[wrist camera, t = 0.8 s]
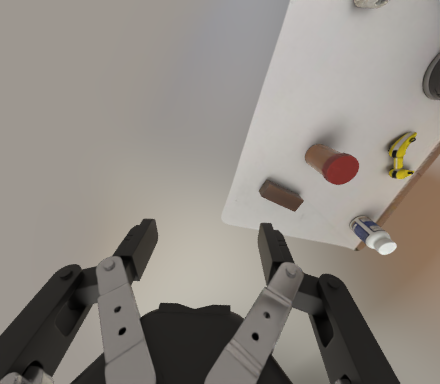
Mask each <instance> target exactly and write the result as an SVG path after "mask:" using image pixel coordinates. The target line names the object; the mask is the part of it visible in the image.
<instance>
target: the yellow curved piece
mask: <svg viewBox="0 0 440 384" xmlns="http://www.w3.org/2000/svg"><path fill="white" fill-rule="evenodd" d="M416 135H417V133H416V132H409V133H407V134H405V135H404V136H402V137H401V138H400V139H399V140H397V141H396V142H395V143H394V144H392V145H391V146H390V148H389V150H388V151H389V155H390V156H391V157H393V158H394V159H393V166H394V169H392V170H390V172H389V175H390V176H391V177H392V178H397V179H404V178H405V177H407V176H409V175H411V174H413V173H414V171H411V170H405V169H400V168H402V167H403V156H404V155H405V152H406V149H407V147H408V146H409V144H410V143H411V142H414V141H415V140H416V139H415V137H416ZM413 139H414V140H413Z"/></svg>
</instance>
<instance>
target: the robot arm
mask: <svg viewBox="0 0 440 384" xmlns="http://www.w3.org/2000/svg"><path fill="white" fill-rule="evenodd" d="M423 90H424V93H425V94H426V96H427V97H429V98H430V99H434V100H440V54H439V55H438V56H437V57H436V58H435V59H434V60H433V61H432V63H431V64H430V66H429V68H428V69H427V71H426V74H425V77H424V81H423ZM157 241H158V232H157V227H156V222H155V219H143V221H142V222H141V224H140V225H136V226H135V227H133V228H132V229H131V230H130V231H129V233H128V234H127V236H126V237H125V238H124V240H123V241H122V243H121V244H120V245H119V247H118V249H117V250H116V251H115V253H114V254H113V256H112V257H108V258H106V259H104V260H103V261H101V262H100V263H99V264H98V266H96V267H91V268H87V269H83V270H82V269H81V267H80V266H79V265H77V264H73V265H68V266H65V267H63V268H61V269H60V270H59V271H57V272H56V273H55V274H54V275H53V276H52V277H51V278H50V279H49V281H48V282H47V283H46V284H45V285H44V286H43V287H42V289H41V290H40V291H39V292H38V293H37V294H36V295H35V297H34V298H33V299H32V300H31V301H30V302H29V303H28V305H27V306H26V307H25V308H24V309H23V310H22V311H21V313H20V314H19V315H18V316H17V317H16V318H15V319H14V321H13V322H12V323H11V324H10V325H9V326H8V328H7V329H6V330H5V331H4V332H3V333H2V334H1V336H0V384H54V381H53V379H52V376H53V374H54V373H55V371H56V369H57V367H58V365H59V364H60V362H61V360H62V358H63V357H64V355H65V353H66V351H67V350H68V348H69V346H70V344H71V342H72V341H73V339H74V337H75V335H76V333H77V332H78V330H79V328H80V326H81V325H82V323H83V321H84V319H85V318H86V316H87V314H88V312H89V310H90V309H91V307H92V305H93V304H94V303H98V309H99V317H100V324H101V332H102V340H103V348H104V352H103V353H102V354H101V355H100V356H99V357H98V358H97V359H96V360H95V361H94V362H93V363H92V364H91V365H89V366H88V367H87V368H86V369H85V370H84V371H83V372H82V373H81V374H80V375H79V376H78V377H77V378H76V379H75V380H74V381H72V382H71V383H70V384H293V383H292V382H291V381H290V379H289V378H288V376H287V375H286V374H285V372H284V371H283V370H282V368H281V367H280V366H279V364H278V363H277V361H276V360H275V359H274V357H273V356H272V353H273V351H274V349H275V346H276V344H277V342H278V339H279V337H280V334H281V332H282V329H283V327H284V325H285V322H286V320H287V318H288V316H289V313H290V311H291V309H292V307H293V308H296V309H299V310H301V311H304V312H307V313H308V315H309V318H310V321H311V324H312V327H313V330H314V334H315V337H316V340H317V343H318V346H319V349H320V352H321V356H322V358H323V362H324V365H325V368H326V371H327V374H328V378H329V380H330V383H331V384H400V382H399V380H398V379H397V377H396V375H395V373H394V371H393V370H392V368H391V366H390V364H389V362H388V361H387V359H386V357H385V355H384V353H383V352H382V350H381V348H380V346H379V345H378V343H377V341H376V339H375V338H374V336H373V334H372V332H371V330H370V328H369V327H368V325H367V323H366V321H365V320H364V318H363V316H362V314H361V312H360V311H359V309H358V307H357V305H356V304H355V302H354V300H353V298H352V296H351V295H350V293H349V291H348V289H347V287H346V286H345V284H344V283H343V282H342V281H341V280H340V279H339V278H337V277H335V276H333V275H331V274H322V275H321V276H320V277H319V278H317V277H314V276H311V275H308V274H305V273H303V271H302V270H301V268H299V267H298V266H297V265H295V263H294V261H293V258H292V256H291V254H290V251H289V249H288V247H287V244H286V242H285V239H284V237H283V235H282V234H281V233H280V232H279V231H278V230H273V227H272V224H271V223H261V224H260V229H259V235H258V248H259V252H260V257H261V261H262V266H263V271H264V276H265V280H266V285H267V287H264V289H263V290H262V292H261V293H260V295H259V296H258V298H257V300H256V301H255V303H254V304H253V306H252V308H251V309H250V311H249V313H248V314H247V316H246V317H245V319H244V318H242V317H241V316H240V315H238V314H236V313H234V312H231V311H230V305H211V306H206V307H202V308H197V309H192V308H189V307H187V306H184V305H181V304H178V303H160V305H159V309H156V310H153V311H151V312H149V313H147V314H145V315H144V316H142V317H141V316H140V313H139V310H138V307H137V304H136V300H135V297H134V294H133V291H132V287H131V284H132V282H133V281H140V279H141V276H142V274H143V272H144V270H145V268H146V266H147V263H148V261H149V259H150V257H151V255H152V252H153V250H154V248H155V246H156V244H157Z"/></svg>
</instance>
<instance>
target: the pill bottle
mask: <svg viewBox="0 0 440 384" xmlns="http://www.w3.org/2000/svg"><path fill="white" fill-rule="evenodd" d="M350 228H351V230H352V231H353V232H354V233H355V234H356V235H357V236H358V237H359V238H360V239H361V240H362V241H363V242H364V243H365V244H366V245H367V246H369V247H370V248H372V249H375V250H376V251H378V252H379V253H380V254H383V255H385V254H389V253H391V252H393V251H394V250H395V249H396V244H395V243H394V242H393V241H392V240H391V239H390V235H389V234H388V233H387V232H386V231H385V230H383V229H382V228H381V227H380V226H378V225H377V224H376V223H374V222H373V221H372V220H371V219H369V218H368V217H366V216H360V217H357V218H355V219H354V220H353V221H352V222H351V223H350Z"/></svg>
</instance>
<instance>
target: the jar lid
mask: <svg viewBox="0 0 440 384" xmlns="http://www.w3.org/2000/svg"><path fill="white" fill-rule="evenodd" d="M358 169H359V163H358V161H357V159H356V158H355V157H353V156H351V155H349V154H345V153H338V154H335V155H333V156H331V157H330V158H328V159H327V161H326V162H325V163H324V165H323V168H322V174H323V176H324V178H325V179H326V180H327V181H328V182H331V183H332V184H336V185H340V184H344V183H347V182H349V181H350V180H351V179H353V178H354V177H355V175H356V174H357V172H358Z"/></svg>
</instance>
